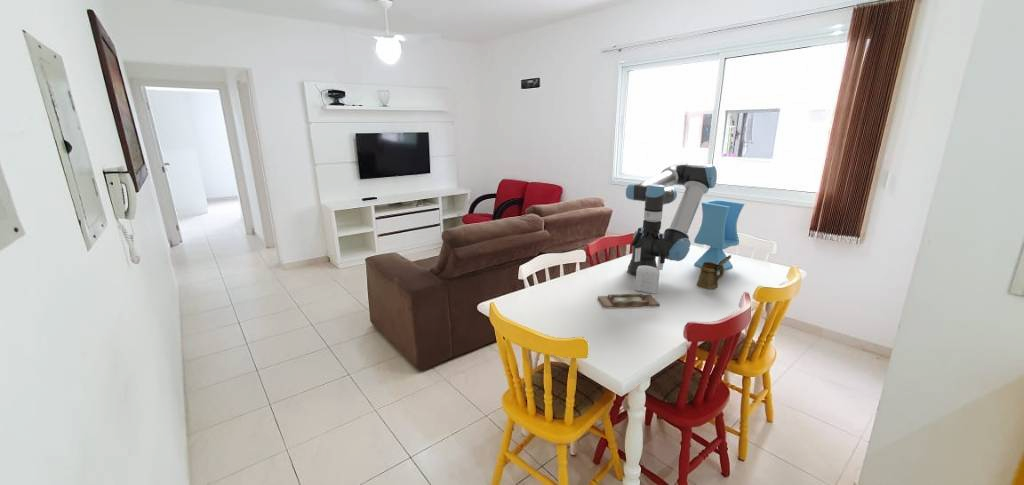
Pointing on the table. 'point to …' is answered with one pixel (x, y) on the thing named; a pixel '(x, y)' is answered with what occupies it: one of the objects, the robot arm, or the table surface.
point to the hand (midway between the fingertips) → (648, 265)
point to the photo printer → (647, 279)
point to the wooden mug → (711, 274)
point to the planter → (718, 230)
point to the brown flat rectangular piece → (628, 300)
